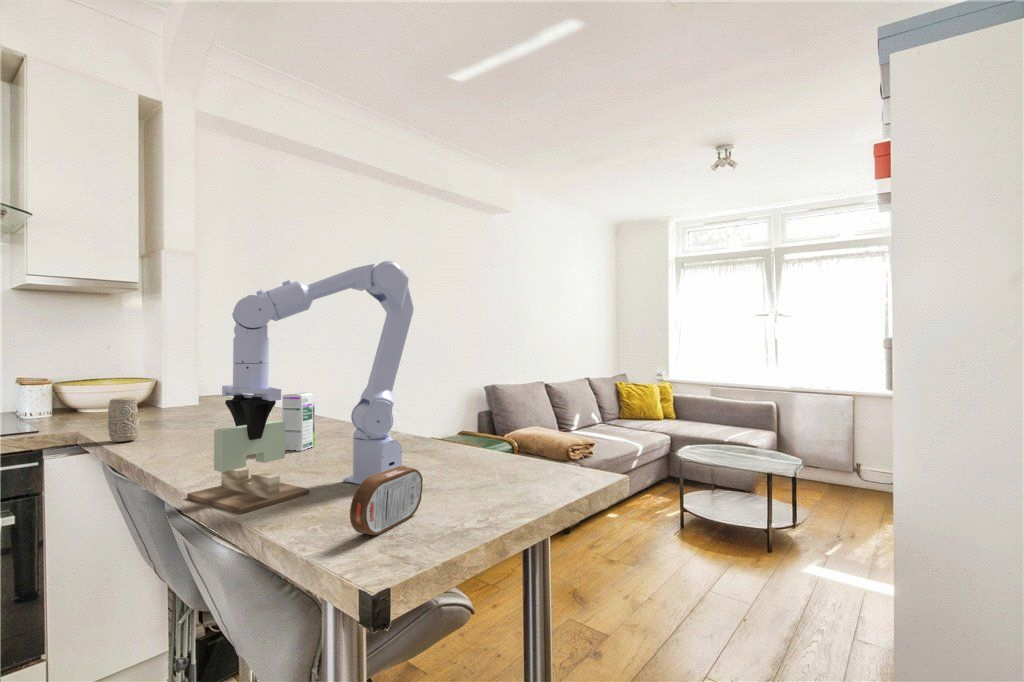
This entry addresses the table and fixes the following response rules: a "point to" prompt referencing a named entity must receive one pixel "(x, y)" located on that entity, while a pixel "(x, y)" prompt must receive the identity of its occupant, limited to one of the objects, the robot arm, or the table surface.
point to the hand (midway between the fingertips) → (250, 438)
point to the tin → (386, 500)
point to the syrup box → (299, 420)
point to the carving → (123, 419)
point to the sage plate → (247, 445)
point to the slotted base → (244, 498)
